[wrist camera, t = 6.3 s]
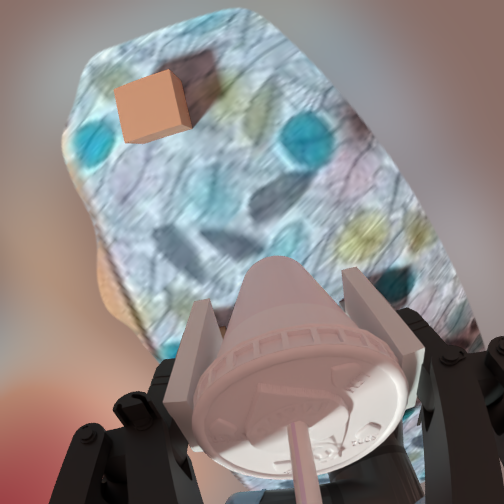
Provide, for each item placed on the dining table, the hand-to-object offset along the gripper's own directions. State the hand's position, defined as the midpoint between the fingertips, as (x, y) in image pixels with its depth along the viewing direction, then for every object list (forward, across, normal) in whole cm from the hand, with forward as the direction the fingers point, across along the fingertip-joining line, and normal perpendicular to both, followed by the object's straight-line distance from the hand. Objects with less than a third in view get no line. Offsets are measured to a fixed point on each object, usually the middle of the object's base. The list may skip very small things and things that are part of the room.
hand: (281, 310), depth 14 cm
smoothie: (+3, 0, 0) cm, 3 cm away
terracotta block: (+16, +7, -13) cm, 22 cm away
